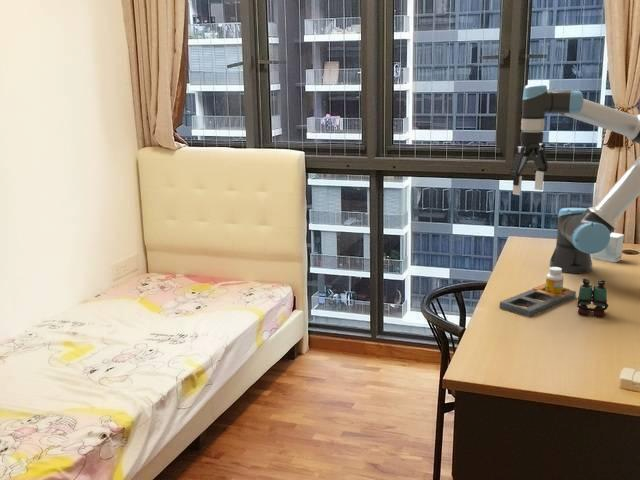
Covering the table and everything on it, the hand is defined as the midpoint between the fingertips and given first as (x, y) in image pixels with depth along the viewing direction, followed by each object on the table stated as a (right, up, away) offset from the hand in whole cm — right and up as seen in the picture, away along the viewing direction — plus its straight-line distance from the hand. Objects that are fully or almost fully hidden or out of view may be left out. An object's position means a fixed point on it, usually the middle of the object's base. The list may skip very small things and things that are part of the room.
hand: (527, 192), depth 235 cm
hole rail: (-2, -37, -16) cm, 41 cm away
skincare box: (+40, -25, +31) cm, 57 cm away
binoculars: (+11, -40, -27) cm, 50 cm away
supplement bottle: (+5, -36, -11) cm, 38 cm away
